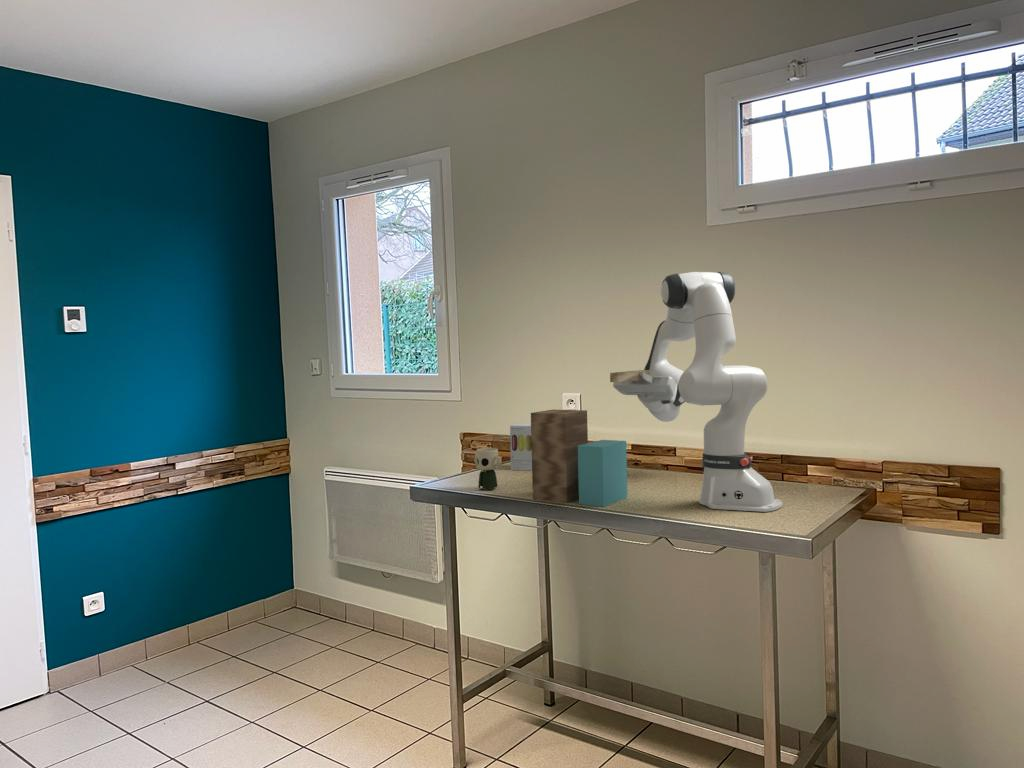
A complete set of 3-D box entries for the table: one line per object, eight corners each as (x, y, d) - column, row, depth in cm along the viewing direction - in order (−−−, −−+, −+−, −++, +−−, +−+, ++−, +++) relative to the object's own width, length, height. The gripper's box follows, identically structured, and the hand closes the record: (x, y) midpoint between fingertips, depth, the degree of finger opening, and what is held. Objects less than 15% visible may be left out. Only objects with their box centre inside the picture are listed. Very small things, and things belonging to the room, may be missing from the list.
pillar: (588, 495, 237) (587, 410, 236) (567, 502, 226) (565, 414, 225) (555, 491, 244) (553, 409, 243) (532, 499, 233) (530, 412, 232)
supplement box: (509, 470, 289) (508, 425, 288) (515, 466, 298) (514, 422, 297) (535, 470, 287) (534, 425, 286) (539, 466, 296) (538, 422, 295)
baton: (649, 378, 250) (649, 370, 250) (618, 382, 232) (618, 372, 232) (641, 378, 252) (641, 370, 252) (610, 382, 234) (610, 372, 234)
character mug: (468, 489, 252) (467, 449, 252) (483, 485, 258) (482, 447, 257) (492, 492, 245) (491, 451, 245) (507, 489, 251) (506, 449, 250)
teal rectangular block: (627, 497, 232) (626, 440, 231) (603, 506, 220) (602, 447, 219) (603, 495, 236) (602, 439, 236) (579, 504, 224) (577, 445, 223)
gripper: (625, 384, 262) (607, 365, 252) (682, 384, 250) (666, 364, 240) (621, 401, 260) (603, 382, 250) (678, 402, 248) (662, 382, 238)
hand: (635, 373), depth 245 cm, fingers closed on baton, 3 cm apart
